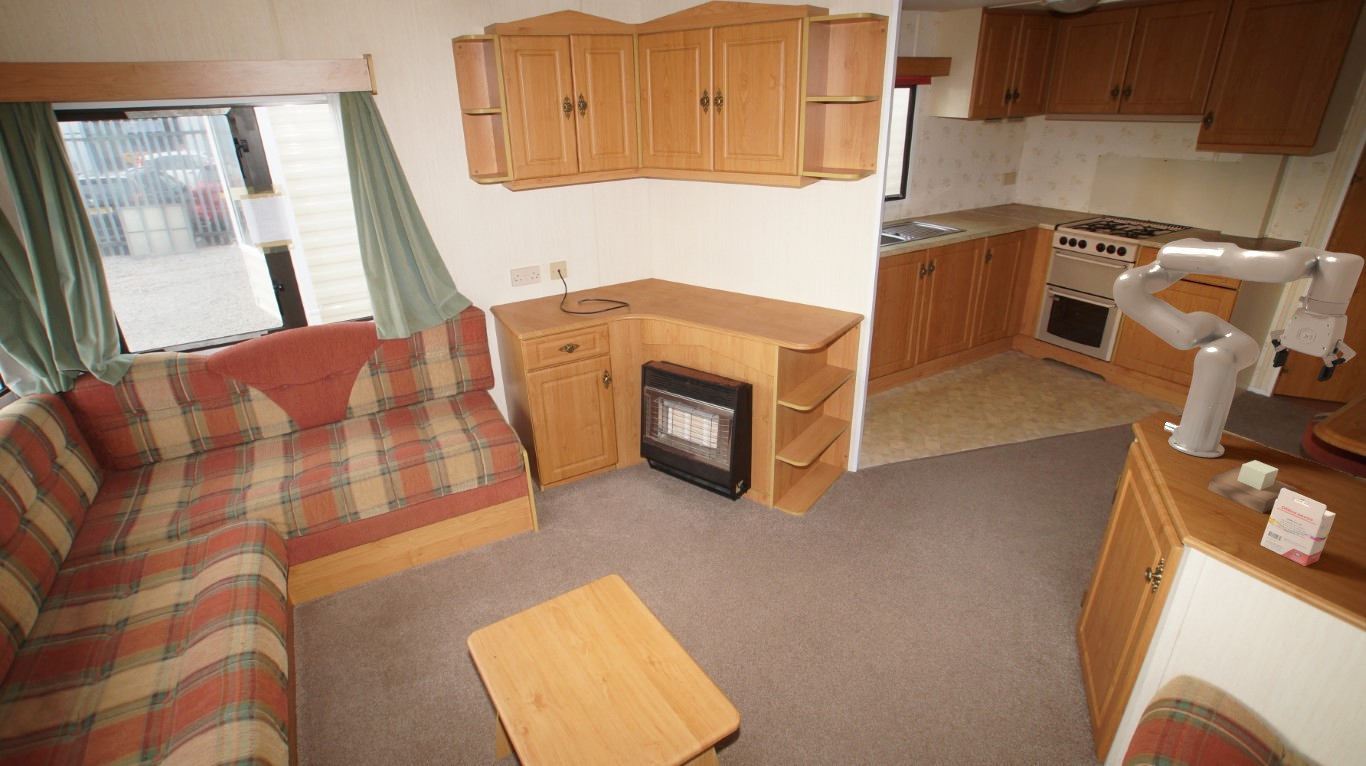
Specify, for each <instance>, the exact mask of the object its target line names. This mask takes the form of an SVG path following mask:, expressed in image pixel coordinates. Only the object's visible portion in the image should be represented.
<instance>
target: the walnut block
mask: <svg viewBox="0 0 1366 766" xmlns="http://www.w3.org/2000/svg"><path fill="white" fill-rule="evenodd" d="M1241 467H1242V466H1238V467H1236V468H1233V469H1229V470H1227V471H1223V472H1222V473H1218V474H1216V475H1213V476H1211V477H1210V481H1209V484H1208V486H1207V490H1208V491H1211V492H1213V493H1215V494H1217V495H1220V496H1222V497H1224V498H1225V499H1229V500H1231V501H1233V502H1235V503H1237V504H1240V505H1242V506H1245V507H1246V508H1248V509H1252V510H1253V511H1256V512H1258V513H1261V514H1264V513H1267V512H1270V511H1272V510H1273V507H1274V504H1275V501H1276V499H1278V496H1279V494H1280V491H1281V489H1282V488H1286V489H1288V490H1290V491H1293V492H1295V493H1297V488H1296V487H1294V486H1292V485H1289V484H1286V483H1284V482H1282V481H1278V480H1276V479H1275V481H1274V484H1273V486H1270V487H1267V488H1265V489H1262V490H1259V489H1256V488H1254V487H1252V486H1249V485H1247V484H1245V483H1242V482H1240V481H1237V479H1238V476H1239V473H1240V470H1241Z"/></svg>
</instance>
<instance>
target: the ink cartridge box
mask: <svg viewBox="0 0 1366 766" xmlns="http://www.w3.org/2000/svg"><path fill="white" fill-rule="evenodd" d="M1327 507H1328V506H1327V505H1326V504H1324V503H1322V502H1321V501H1320V502H1319V501H1317V500H1314V499H1313V498H1310V497H1308V496H1305V495H1302V494H1300V493H1298V492H1293V491H1290V490H1288V489H1286V488H1282V489H1281V491H1280V494H1279V496H1278V499H1276V501H1275V504H1274V507H1273V509H1272V510H1271V512H1270V513H1271V514H1270V516H1269V519H1268V521H1267V525H1266V526H1265V527H1266V528H1265V530H1264V532H1263V536H1262V539H1261V541H1260V546H1261V547H1263V548H1266V549H1268V550H1269V551H1271V552H1273V553H1275V554H1278V555H1279V556H1282V557H1284V558H1286V559H1289V560H1290V561H1292V562H1295V563H1296V564H1298V565H1301V566H1303V567H1308V566H1310V565H1311V564H1314V563H1316V562H1318V561H1319V560H1320V557H1321V554H1322V553H1323V549H1324V547H1325V545H1326V542H1327V539H1328V537H1329V534H1330V532H1331V528H1332V526H1333V523H1334V521H1335V517H1336V513H1335V512H1332V511H1329V510H1327Z"/></svg>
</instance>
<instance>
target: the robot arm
mask: <svg viewBox="0 0 1366 766" xmlns="http://www.w3.org/2000/svg"><path fill="white" fill-rule="evenodd" d="M1364 265H1365V259H1364V258H1363V257H1362V256H1360V255H1357V254H1354V253H1353V254H1352V253H1347V252H1334V251H1333V252H1332V251H1329V250H1324V249H1320V248H1316V247H1313V246H1312V247H1311V246H1298V247H1293V248H1290V249H1287V250H1281V251H1280V250H1279V251H1278V250H1273V251H1272V250H1256V249H1255V250H1254V249H1246V248H1242V247H1239V246H1238V244H1236V243H1233V242H1221V241H1220V242H1218V241H1216V242H1215V241H1204V240H1202V239H1200V238H1197V237H1187V238H1182V239H1178V240H1172V241H1170V242H1168V243H1165V244H1164V245H1162V246H1161V248H1160V249H1159V250H1158V252H1157V253H1156V259H1155V260H1154V261H1152V262H1150V263H1149V264H1146V265H1145V264H1144V265H1141V266H1138V267H1134V268H1130V269H1127V270H1125V271H1124V272H1122V273H1121V274H1119V276H1117V278H1116V279H1115V281H1114V283H1113V285H1112V287H1113V288H1112V296H1113V301H1114V303H1115V305H1116V307H1118V309H1119V310H1120V311H1121V312H1122V313H1123V314H1124V315H1126V316H1127V317H1129V318H1130V319H1131V320H1133V321H1135V322H1136V323H1138V324H1139V325H1140V326H1143V327H1144V328H1145V329H1147V331H1149V332H1151V333H1152V334H1154V335H1155V336H1157V337H1158V338H1159V339H1161V340H1162V341H1164V342H1166V344H1168V345H1170V347H1173V348H1174V349H1176V350H1180V351H1188V350H1193V349H1195V348H1198V347H1199V348H1200V349H1199V350H1198V351H1197V353H1196V355H1195V357H1194V361H1193V369H1192V370H1193V371H1192V372H1193V373H1192V379H1191V382H1190V387H1189V391H1188V394H1187V397H1186V401H1185V404H1184V409H1183V413H1182V416H1181V420H1180V423H1179V424H1176V423H1174V422H1171V421H1166V423H1165V424H1164V428H1163V429H1164V431H1165V432H1169V433H1171V435H1170V436H1169V438H1168V444H1169V446H1170V447H1172V448H1173V449H1174V450H1177V451H1179V452H1182V453H1184V454H1187V455H1191V456H1194V457H1195V456H1196V457H1200V458H1218V457H1221V456H1223V455H1224V454H1225V447H1224V446H1223V445H1222V444H1221V443H1220V441H1221V439H1222V435H1223V432H1224V429H1225V425H1226V422H1227V419H1228V416H1229V413H1230V410H1231V406H1232V404H1233V399H1234V395H1235V392H1236V389H1237V388H1236V387H1237V376H1238V373H1239V372H1240V371H1242V370H1244V369H1246V368H1248V367H1250V366H1252V365H1254V364H1255V363H1256V362H1257V361H1258V360H1259V357H1260V353H1261V351H1260V350H1261V349H1260V346H1259V344H1258V342H1257V341H1256V340H1255V339H1254V338H1253V337H1251V336H1250V335H1249V334H1247V333H1245V332H1244V331H1242V330H1241V329H1239V328H1238V327H1236V326H1234V325H1232V324H1231V323H1230V322H1227V321H1226V320H1225V319H1222V318H1221V317H1219V316H1217V315H1215V314H1213V313H1211V312H1207V311H1200V310H1199V311H1192V312H1189V313H1186V312H1184V311H1181V310H1179V309H1178V308H1176V307H1174V306H1173V305H1171V303H1168V302H1167V301H1165V300H1163V299H1160V298H1157V297H1156V296H1153V295H1152V294H1155V293H1159V292H1162V291H1163V290H1166V289H1167V288H1169V287H1171V286H1172V285H1173V284H1175V283H1176V282H1178V281H1180V280H1182V278H1184V277H1186V276H1188V275H1189V274H1192V275H1194V274H1195V275H1205V276H1218V277H1225V278H1228V279H1236V280H1241V281H1248V282H1257V283H1258V282H1259V283H1272V284H1273V283H1274V284H1287V283H1292V282H1296V281H1299V280H1303V279H1304V280H1305V279H1311V283H1310V285H1309V288H1308V291H1307V294H1306V295H1305V296H1299V298H1298V302H1299V303H1302V305H1301V306H1302V307H1297V308H1296V310H1295V311H1294V312H1293V314H1292V316H1291V318H1290V319H1289V321H1288V323H1287V325H1286V327H1285V328H1283V329H1282V328H1281V329H1277V330H1271V331H1270V332H1269V333H1270V339H1271V344H1272V345H1273V347H1274V351H1275V355H1274V358H1273V361H1272V363H1273V364H1272V368H1275V369H1276V368H1281V367H1284V366H1285V365H1286V362H1287V360H1288V359H1287V358H1288V356H1289V351H1288V350H1292V351H1295V352H1298V353H1303V354H1306V355H1309V356H1313V357H1317V358H1321V359H1322V360H1323V362H1324V364H1325V365H1322V366H1321V369H1320V371H1319V374H1318V376H1317V378H1316V381H1317V382H1320V383H1322V382H1326V381H1329V380H1330V379H1332V378H1333V375H1334V373H1335V369H1336V368H1337V366H1340V365H1343V364H1345V363H1348V362H1349V361H1350V360H1351V359H1352V358H1354V357H1355V356H1356V355H1357V352H1356V351H1355V350H1354V349H1352V348H1351V347H1350V346H1348V345H1347V344H1346V343H1345V342H1344V338H1345V335H1346V330H1347V324H1348V315H1346V312H1347V309H1348V307H1349V304H1350V301H1351V299H1352V296H1353V294H1354V291H1355V288H1356V286H1357V283H1358V281H1359V279H1360V275H1361V274H1362V271H1363V268H1364ZM1281 335H1282V336H1281ZM1340 352H1341V353H1343V355H1342V356H1341V357H1338V356H1337V355H1338V353H1340Z"/></svg>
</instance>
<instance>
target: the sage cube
mask: <svg viewBox="0 0 1366 766" xmlns="http://www.w3.org/2000/svg"><path fill="white" fill-rule="evenodd" d="M1240 467H1241V470H1240V473H1239V476H1238V479H1237V481H1240V482H1242V483H1245V484H1247V485H1249V486H1252V487H1254V488H1256V489H1259V490H1262V489H1265V488H1267V487H1270V486H1273V484H1274V481H1275V480H1276V478H1277V476H1278V473H1279V470H1280V469H1279V468H1276V467H1274V466H1271V465H1269V464H1266V463H1263V462H1261V461H1259V460H1256V459H1254V460H1251V461H1248V462H1246V463H1242V465H1241V466H1240Z"/></svg>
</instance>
